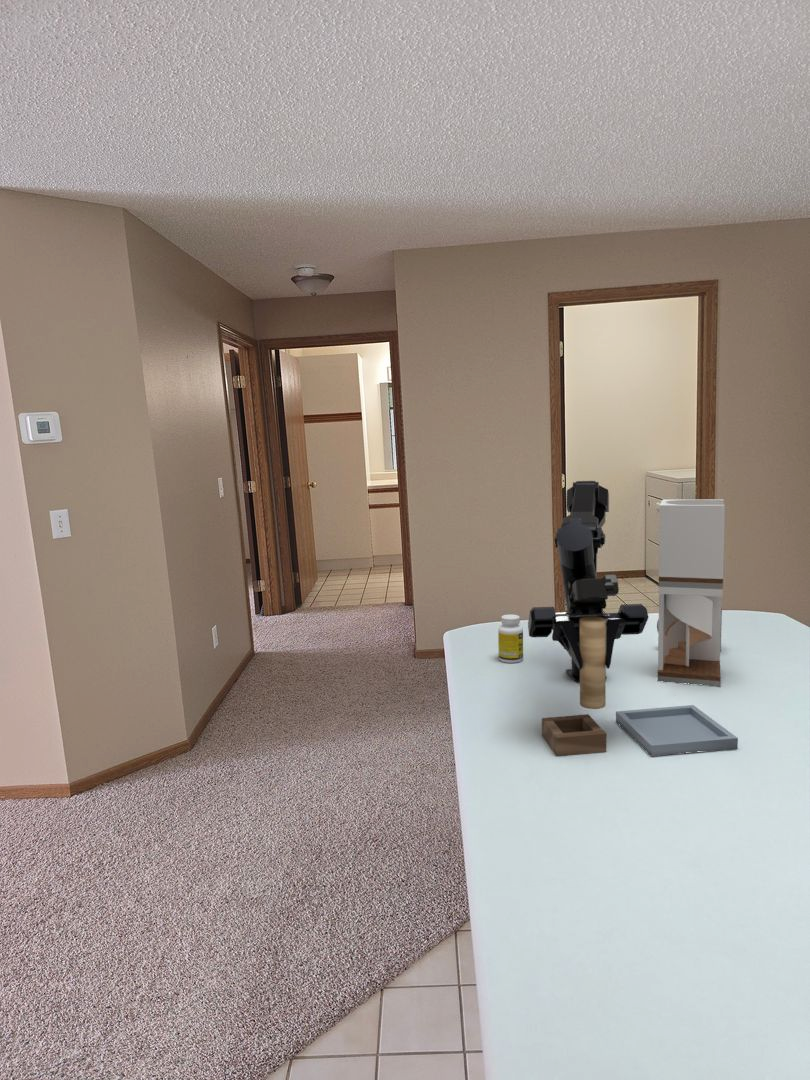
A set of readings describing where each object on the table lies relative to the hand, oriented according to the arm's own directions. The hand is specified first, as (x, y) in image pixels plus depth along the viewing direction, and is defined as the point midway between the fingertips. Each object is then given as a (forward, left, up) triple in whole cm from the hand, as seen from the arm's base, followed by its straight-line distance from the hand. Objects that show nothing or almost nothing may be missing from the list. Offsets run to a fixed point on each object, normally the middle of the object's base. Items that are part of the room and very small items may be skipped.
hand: (594, 667), depth 116 cm
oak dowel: (-1, 0, -7) cm, 7 cm away
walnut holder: (-1, -3, -13) cm, 13 cm away
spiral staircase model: (-27, +30, -13) cm, 43 cm away
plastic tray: (-1, +14, -13) cm, 19 cm away
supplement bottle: (-45, -2, -13) cm, 47 cm away
